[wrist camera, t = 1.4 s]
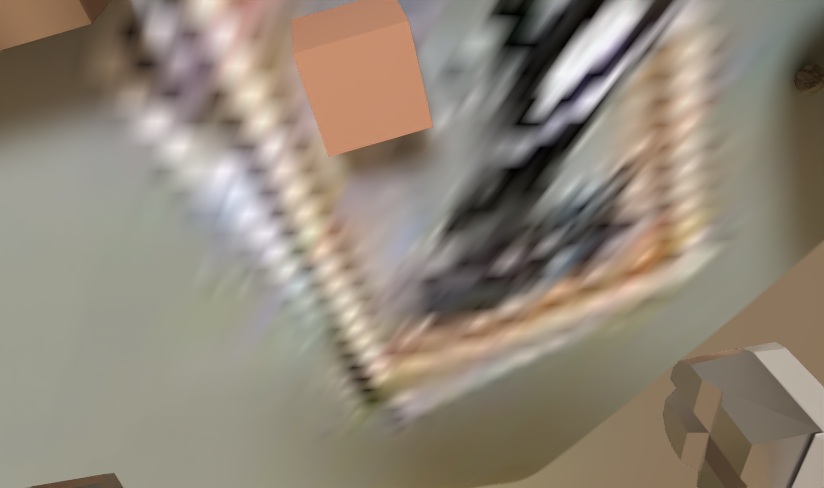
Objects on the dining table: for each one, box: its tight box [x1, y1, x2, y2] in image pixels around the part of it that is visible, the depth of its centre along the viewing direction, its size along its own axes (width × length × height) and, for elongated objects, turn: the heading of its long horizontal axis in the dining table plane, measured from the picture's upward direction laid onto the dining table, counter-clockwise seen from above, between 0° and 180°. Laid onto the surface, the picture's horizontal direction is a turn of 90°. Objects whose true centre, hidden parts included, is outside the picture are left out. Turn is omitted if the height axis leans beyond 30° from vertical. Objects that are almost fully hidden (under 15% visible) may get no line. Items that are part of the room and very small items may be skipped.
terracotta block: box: [291, 0, 433, 157], centre depth 30 cm, size 5×5×5 cm
